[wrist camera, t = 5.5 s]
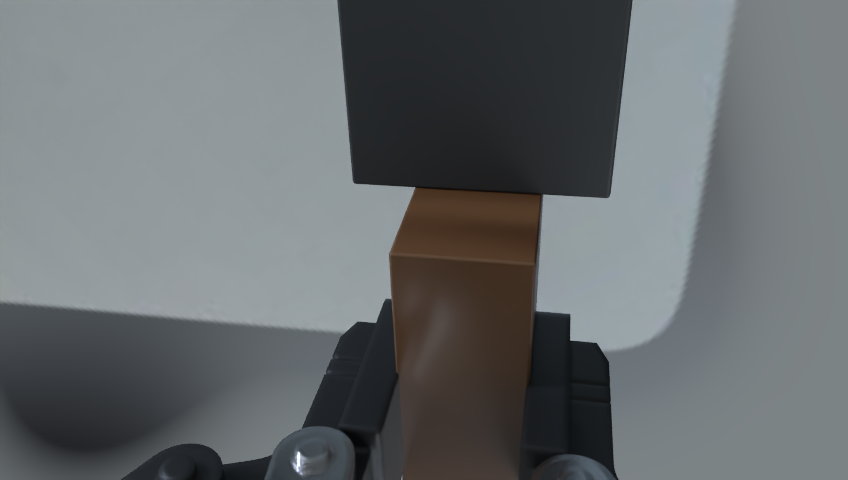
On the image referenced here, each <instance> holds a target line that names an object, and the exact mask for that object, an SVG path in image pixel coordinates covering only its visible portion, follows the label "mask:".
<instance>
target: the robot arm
mask: <svg viewBox="0 0 848 480" xmlns="http://www.w3.org/2000/svg"><path fill="white" fill-rule="evenodd" d="M610 401H611V397H610V376H609V362H608V360H607V358H606V357H605V355H604V354H603V352H602V351H601V349H600V347H599V346H598V344H597V343H590V342H579V341H570V314H562V313H550V312H538V311H536V313H535V325H534V337H533V349H532V361H531V373H530V385H529V386H526V392H525V403H524V414H523V425H522V437H521V448H520V465H519V480H618V478H617V476H616V473H615V470H614V461H613V441H612V440H613V439H612V419H611V404H610ZM403 469H404V457H403V440H402V422H401V405H400V387H399V374H398V373H396V361H395V344H394V328H393V312H392V299H386V300H385V301H384V303H383V306H382V309H381V311H380V314H379V317H378V320H377V322H376V323H368V322H357V323H356V324H355V325H353V326H352V327H351V328H350V329H349V330H348V331H347V332H346V333H345V334H343V335H342V336H341V337H340V340H339V342H338V344H337V347H336V349H335V351H334V354H333V359H332V360H331V361H330V363H329V366H328V368H327V370H326V375H324V377H323V380H322V382H321V385H320V387H319V389H318V391H317V394H316V396H315V399H314V401H313V403H312V406H311V408H310V410H309V413H308V415H307V417H306V420H305V422H304V424H303V427H302V429H300V430H298V431H295V432H293V433H291V434H290V435H288V436H287V437H286V438H284V439H283V440H282V441H281V442H280V443H279V444H278V445H277V447H276V448H275V450H274V452H273V454H272V455H270V456H268V457H265V458H262V459H256V460H251V461H245V462H238V463H231V464H224V465H222V461H221V458H220V457H219V456H218V454H217V453H216V452H215V451H214V450H213V449H211V448H209V447H207V446H204V445H200V444H181V445H177V446H173V447H170V448H168V449H165V450H163V451H161V452H159V453H158V454H156V455H155V456H153V457H152V458H150V459H149V460H148V461H146V462H145V463H143V464H142V465H141V466H139V467H138V468H137V469H135V470H134V471H133V472H131V473H130V474H128V475H127V476H125V477H124V478H123V479H121V480H401V476H402V473H403Z"/></svg>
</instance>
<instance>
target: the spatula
mask: <svg viewBox="0 0 848 480" xmlns="http://www.w3.org/2000/svg"><path fill="white" fill-rule="evenodd" d="M337 1H338V12H339V24H340V36H341V47H342V59H343V71H344V82H345V94H346V106H347V117H348V129H349V141H350V152H351V164H352V176H353V182H354V183H355V184H370V185H388V186H405V187H416V188H415V190H414V193H413V195H412V198H411V200H410V203H409V205H408V208H407V210H406V213H405V215H404V218H403V220H402V223H401V225H400V228H399V230H398V233H397V235H396V238H395V240H394V243H393V246H392V248H391V251H390V253H389V263H390V279H391V295H392V312H393V328H394V344H395V361H396V373H398V374H399V387H400V405H401V422H402V440H403V457H404V469H403V473H402V475H403V480H519V465H520V448H521V437H522V425H523V414H524V403H525V392H526V386H529V385H530V373H531V361H532V349H533V337H534V325H535V313H536V303H537V287H538V271H539V255H540V239H541V223H542V207H543V194H545V195H563V196H580V197H598V198H608V197H609V196H610V193H611V184H612V175H613V166H614V158H615V149H616V140H617V131H618V123H619V114H620V105H621V96H622V88H623V79H624V70H625V61H626V53H627V44H628V35H629V26H630V18H631V9H632V0H337Z"/></svg>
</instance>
